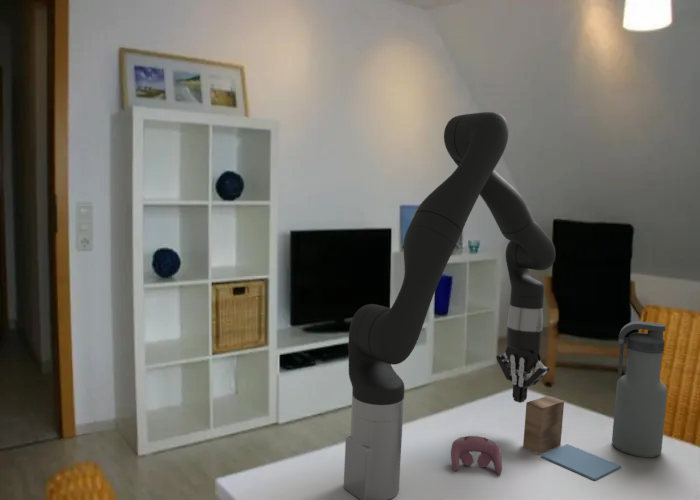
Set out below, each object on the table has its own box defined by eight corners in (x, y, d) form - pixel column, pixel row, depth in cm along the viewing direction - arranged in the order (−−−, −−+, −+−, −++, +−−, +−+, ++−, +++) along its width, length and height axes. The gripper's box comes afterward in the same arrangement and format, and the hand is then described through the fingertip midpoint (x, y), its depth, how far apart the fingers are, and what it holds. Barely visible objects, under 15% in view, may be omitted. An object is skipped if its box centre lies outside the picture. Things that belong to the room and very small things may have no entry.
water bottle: (608, 450, 124) (619, 324, 121) (610, 435, 132) (621, 316, 130) (661, 462, 119) (674, 331, 116) (660, 445, 127) (672, 322, 125)
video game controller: (499, 475, 114) (498, 438, 116) (503, 475, 109) (503, 437, 112) (449, 471, 114) (450, 434, 117) (451, 470, 110) (452, 433, 113)
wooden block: (539, 454, 121) (542, 408, 120) (521, 446, 124) (525, 401, 123) (560, 445, 125) (564, 401, 124) (543, 438, 129) (546, 395, 128)
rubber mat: (594, 480, 110) (594, 478, 110) (540, 456, 119) (540, 454, 119) (620, 467, 116) (621, 465, 116) (567, 445, 125) (567, 444, 125)
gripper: (490, 321, 130) (485, 395, 132) (540, 334, 120) (534, 414, 121) (510, 318, 135) (505, 389, 136) (560, 330, 125) (554, 407, 126)
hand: (519, 401), depth 129 cm, fingers closed
